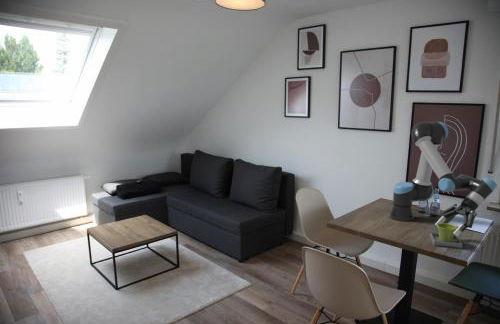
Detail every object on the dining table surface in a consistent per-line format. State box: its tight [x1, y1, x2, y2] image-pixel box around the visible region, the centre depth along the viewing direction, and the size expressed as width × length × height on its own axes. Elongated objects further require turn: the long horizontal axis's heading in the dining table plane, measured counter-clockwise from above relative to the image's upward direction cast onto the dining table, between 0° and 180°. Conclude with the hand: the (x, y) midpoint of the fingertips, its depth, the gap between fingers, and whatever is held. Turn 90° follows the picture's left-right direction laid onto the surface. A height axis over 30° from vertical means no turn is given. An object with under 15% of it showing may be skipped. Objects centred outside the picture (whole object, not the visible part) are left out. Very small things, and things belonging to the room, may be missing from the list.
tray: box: [429, 232, 463, 250], centre depth 188 cm, size 13×13×3 cm
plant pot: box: [436, 222, 458, 243], centre depth 187 cm, size 9×9×9 cm
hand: (445, 230), depth 186 cm, fingers open, 13 cm apart
